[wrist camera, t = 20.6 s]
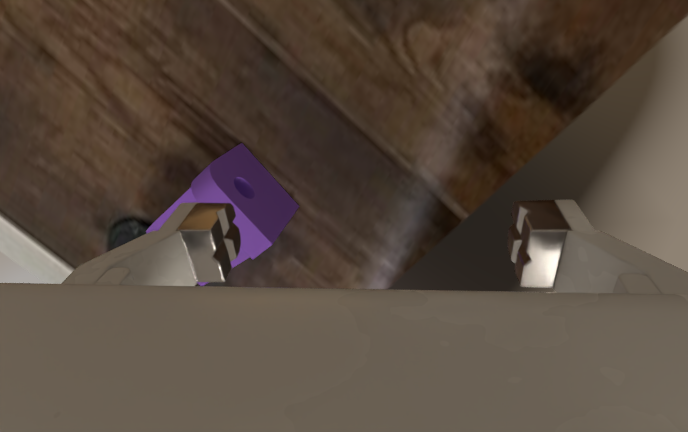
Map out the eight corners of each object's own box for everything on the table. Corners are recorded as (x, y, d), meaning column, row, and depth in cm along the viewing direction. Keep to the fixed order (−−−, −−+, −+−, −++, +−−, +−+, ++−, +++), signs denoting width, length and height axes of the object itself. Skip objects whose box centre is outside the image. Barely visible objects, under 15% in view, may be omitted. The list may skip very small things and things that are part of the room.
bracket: (241, 142, 35) (201, 168, 29) (299, 206, 36) (272, 244, 30) (155, 224, 39) (104, 261, 33) (209, 277, 41) (170, 323, 35)
